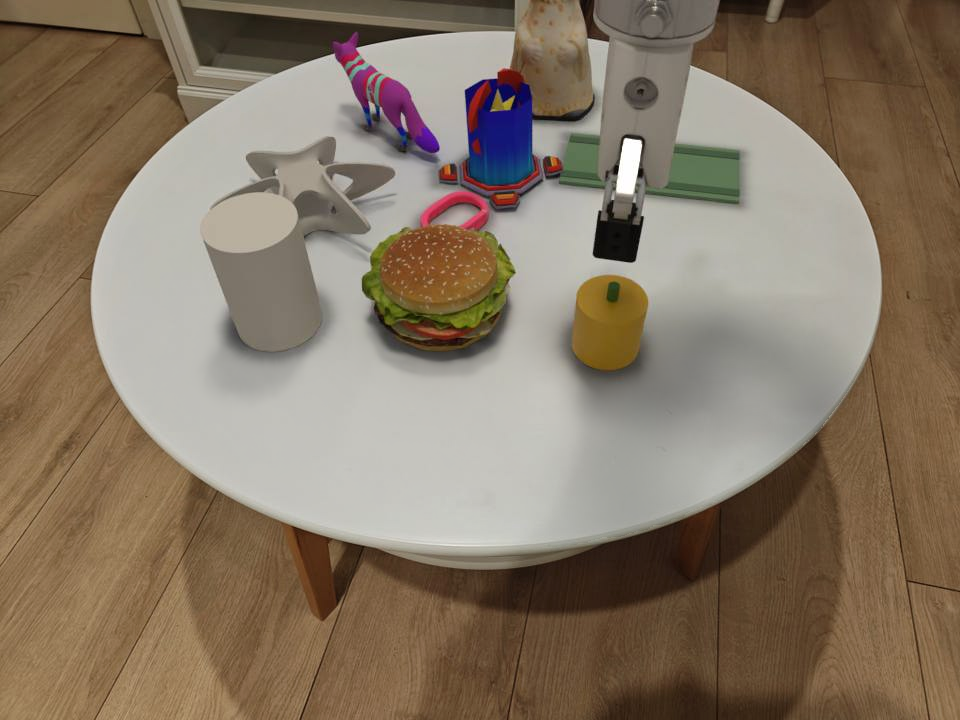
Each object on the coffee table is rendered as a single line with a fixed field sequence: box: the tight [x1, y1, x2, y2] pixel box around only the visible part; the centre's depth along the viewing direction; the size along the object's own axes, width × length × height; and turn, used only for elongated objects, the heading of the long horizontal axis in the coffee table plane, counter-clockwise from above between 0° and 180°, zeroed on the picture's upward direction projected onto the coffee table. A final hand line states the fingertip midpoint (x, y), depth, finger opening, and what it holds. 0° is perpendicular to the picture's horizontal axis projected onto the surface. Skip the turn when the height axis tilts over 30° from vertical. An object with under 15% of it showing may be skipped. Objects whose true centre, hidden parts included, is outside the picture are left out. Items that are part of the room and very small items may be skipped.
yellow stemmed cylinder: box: [571, 274, 649, 371], centre depth 68 cm, size 6×6×8 cm
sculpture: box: [209, 135, 396, 237], centre depth 82 cm, size 18×20×6 cm
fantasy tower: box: [438, 67, 564, 210], centre depth 84 cm, size 12×12×12 cm
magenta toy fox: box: [332, 31, 441, 154], centre depth 91 cm, size 4×18×10 cm, turn 45°
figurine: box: [509, 0, 596, 122], centre depth 92 cm, size 12×10×20 cm
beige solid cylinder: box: [199, 192, 323, 353], centre depth 69 cm, size 8×8×12 cm
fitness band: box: [419, 190, 490, 231], centre depth 83 cm, size 8×6×2 cm
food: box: [361, 223, 517, 352], centre depth 72 cm, size 14×14×8 cm
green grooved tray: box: [558, 132, 741, 204], centre depth 89 cm, size 20×10×1 cm, turn 77°
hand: (620, 217), depth 60 cm, fingers open, 9 cm apart
